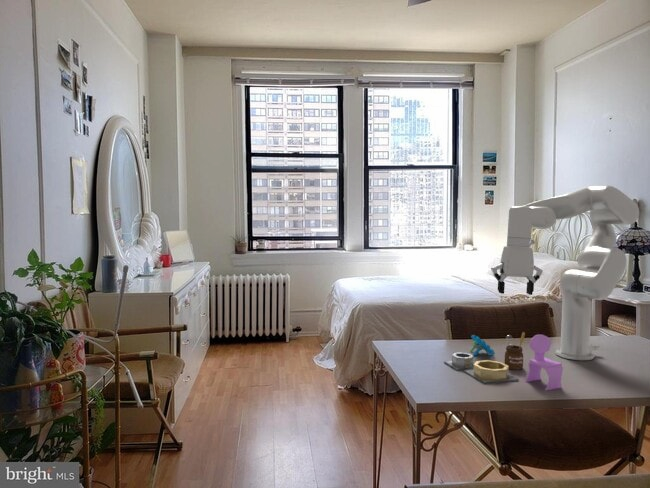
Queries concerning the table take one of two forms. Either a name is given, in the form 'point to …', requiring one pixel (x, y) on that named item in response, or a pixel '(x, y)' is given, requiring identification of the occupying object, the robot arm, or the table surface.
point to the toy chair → (544, 363)
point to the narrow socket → (461, 361)
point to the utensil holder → (514, 355)
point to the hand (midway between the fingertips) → (515, 293)
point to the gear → (480, 346)
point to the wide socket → (491, 372)
